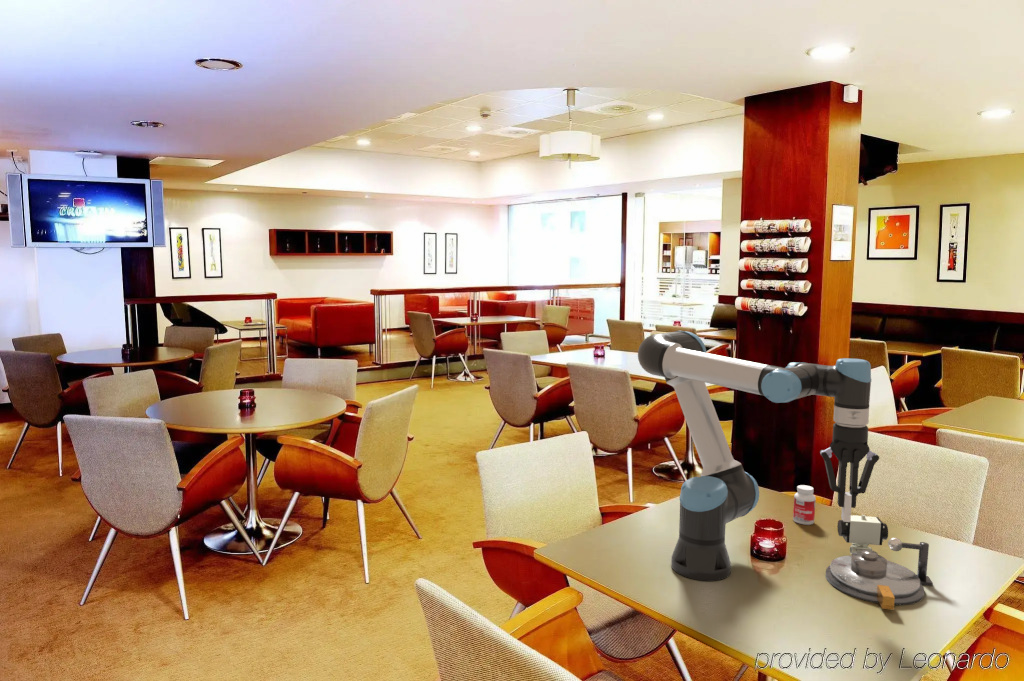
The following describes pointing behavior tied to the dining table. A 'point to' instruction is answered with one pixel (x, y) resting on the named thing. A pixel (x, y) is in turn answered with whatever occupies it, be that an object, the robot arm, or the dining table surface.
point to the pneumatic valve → (863, 532)
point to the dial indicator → (923, 549)
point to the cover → (869, 564)
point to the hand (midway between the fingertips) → (845, 519)
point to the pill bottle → (804, 505)
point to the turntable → (877, 581)
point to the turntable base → (873, 598)
